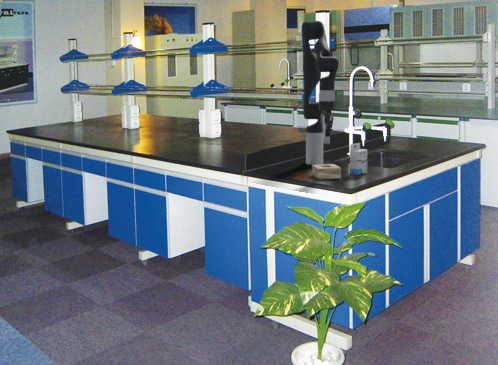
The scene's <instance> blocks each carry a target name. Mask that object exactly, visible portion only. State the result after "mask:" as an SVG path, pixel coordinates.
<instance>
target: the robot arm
mask: <svg viewBox="0 0 498 365" xmlns="http://www.w3.org/2000/svg"><path fill="white" fill-rule="evenodd" d="M315 40H317V41H316V42H315V43H314V46H313V50H312V48H311V46H310V41H315ZM301 41H302V78H303V80H302V81H303V103H302V104H303V106H302V107H303V108H302V110H303V112H302V114H303V118H304V119H305V120H316V122H315V123H313V124H311V125H307V126H306V127H305V164H306V165H308V166H309V165H310V166H312V165H322V164H324V144H323V118H324V124H325V136H326V137H331V129H332V128H333V124H334V118H335V117H334V116H333V114H332V111H334V110H336V108H335V107H336V92H335V84H336V83H335V82H336V76H337V71H338V69H339V66H340V65H339V62H340V61H339V59H338V58H337V57H336V56H332V53H331V51H330V47H329V46H328V42H327V35H326V30H325V25H324V23H323V22H322V20H307V21H303V22H302V23H301ZM322 73H329V74H328V75H327V76H323V77H322ZM318 85H319V87H318V88H319V89H318V90H319V91H318V92H319V93H318V101H310V99H311V95H312V93H313V92H314V90H315V89H316V87H317V86H318Z"/></svg>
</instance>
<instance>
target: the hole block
mask: <svg viewBox="0 0 498 365" xmlns="http://www.w3.org/2000/svg"><path fill="white" fill-rule="evenodd" d="M311 175H312V176H313V177H314V178H316V179H317V180H330V179H331V180H332V179H342V167H340V166H339V165H336V164H334V163H325V164H324V163H323V164H320V165H311Z"/></svg>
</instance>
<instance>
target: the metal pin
mask: <svg viewBox="0 0 498 365" xmlns="http://www.w3.org/2000/svg"><path fill="white" fill-rule="evenodd" d="M330 137H331V136H330ZM330 137H326V136H325V124H324V118H323V145H330V142H331V138H330Z"/></svg>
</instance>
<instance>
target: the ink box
mask: <svg viewBox="0 0 498 365" xmlns="http://www.w3.org/2000/svg"><path fill="white" fill-rule="evenodd" d="M368 152H369V151H368V149H366V148H361V143H360V142H357V143H352V144H350V151H349V175H354V176H360V175H363V174H367V173H368Z"/></svg>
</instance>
